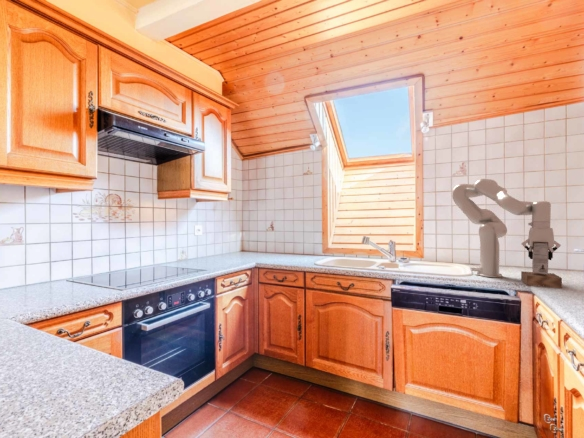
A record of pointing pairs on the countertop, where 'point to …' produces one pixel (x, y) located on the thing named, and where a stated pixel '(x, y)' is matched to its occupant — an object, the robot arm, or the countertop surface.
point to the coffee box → (540, 257)
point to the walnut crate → (541, 279)
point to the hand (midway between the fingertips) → (540, 259)
